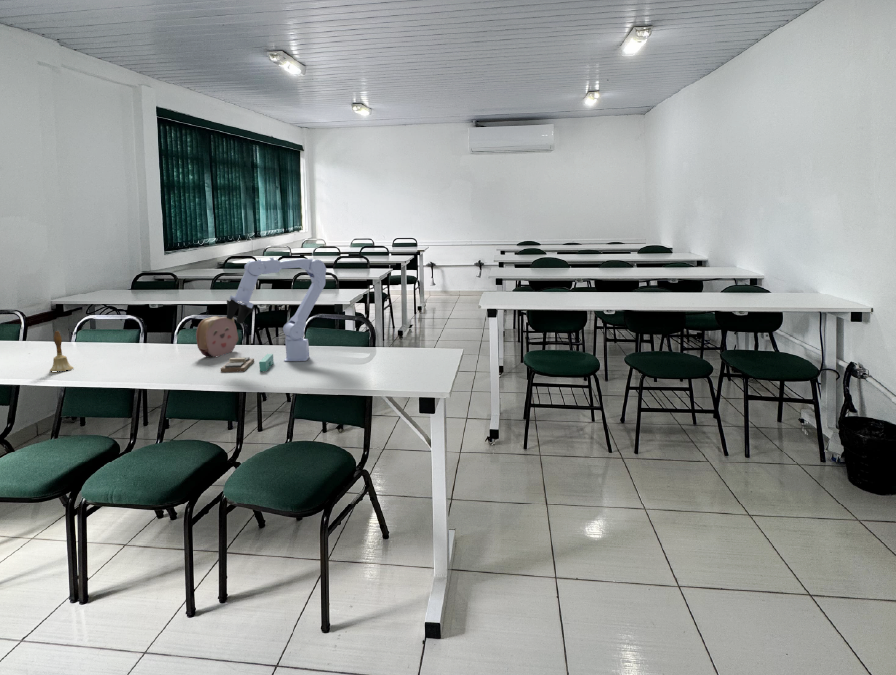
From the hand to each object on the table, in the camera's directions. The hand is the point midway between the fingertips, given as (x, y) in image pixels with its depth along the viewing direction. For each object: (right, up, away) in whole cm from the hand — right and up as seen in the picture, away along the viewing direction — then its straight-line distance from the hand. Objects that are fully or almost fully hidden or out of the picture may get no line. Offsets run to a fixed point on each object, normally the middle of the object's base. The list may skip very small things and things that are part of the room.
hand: (233, 320), depth 238 cm
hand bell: (-70, -20, +1) cm, 72 cm away
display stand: (0, -19, +4) cm, 19 cm away
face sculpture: (-16, -14, +27) cm, 35 cm away
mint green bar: (+12, -19, +3) cm, 23 cm away
